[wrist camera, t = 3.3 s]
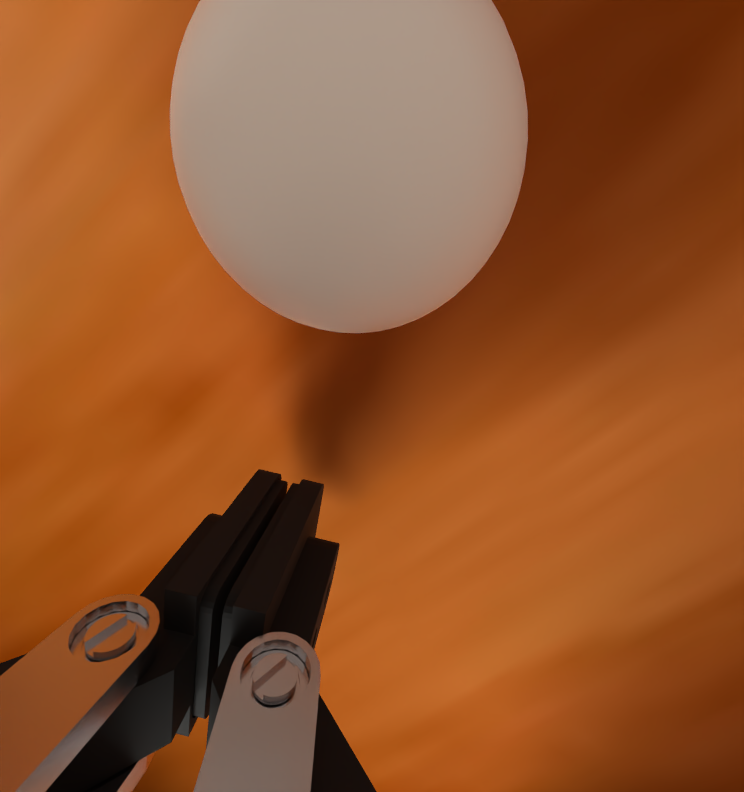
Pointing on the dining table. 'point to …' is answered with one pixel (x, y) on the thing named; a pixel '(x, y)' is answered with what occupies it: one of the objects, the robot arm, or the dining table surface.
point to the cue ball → (349, 150)
